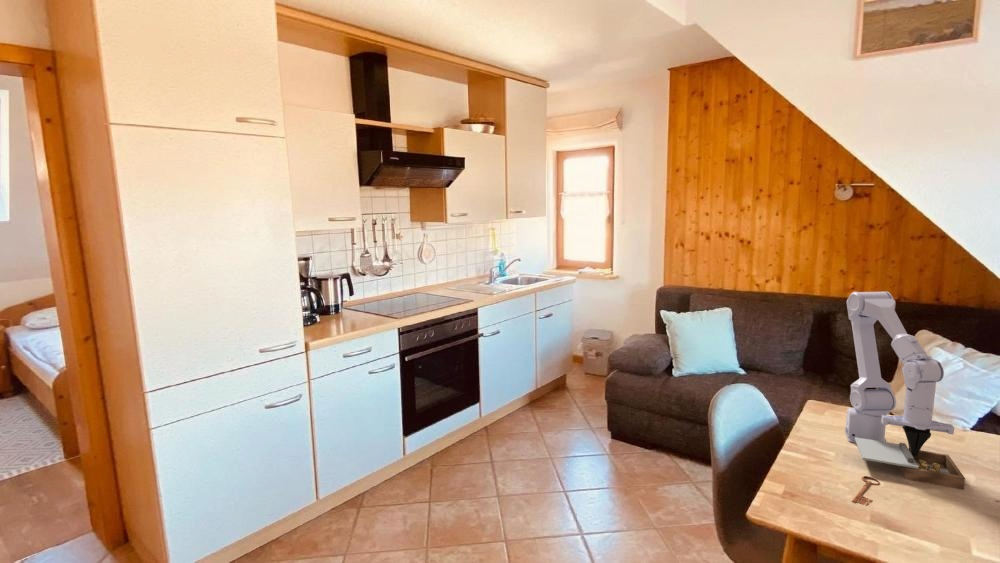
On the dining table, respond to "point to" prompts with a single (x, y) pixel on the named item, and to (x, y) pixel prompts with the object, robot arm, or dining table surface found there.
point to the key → (865, 487)
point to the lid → (885, 452)
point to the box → (938, 478)
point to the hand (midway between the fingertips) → (913, 454)
